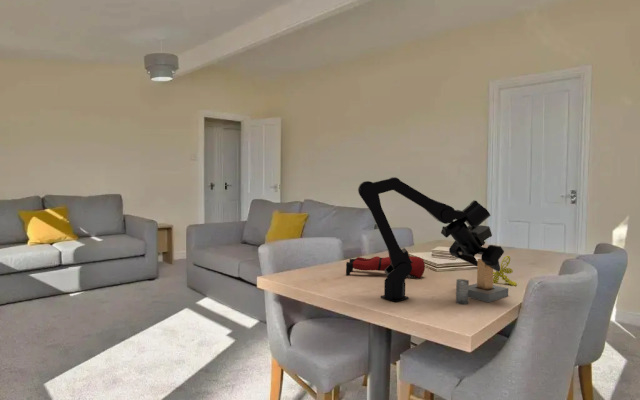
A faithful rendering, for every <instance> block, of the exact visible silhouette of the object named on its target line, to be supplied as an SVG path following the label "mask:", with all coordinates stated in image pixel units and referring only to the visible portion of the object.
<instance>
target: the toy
mask: <svg viewBox="0 0 640 400" xmlns="http://www.w3.org/2000/svg"><path fill="white" fill-rule="evenodd" d="M409 258H410V260H411V261H412V262H413V263H411V265H412V270H411V273H410V274H409V275H408V276H406V278H413V279H420V278H422V276H423V275H424V273H425V268H426V267H425V261H424V259H423V258H421V257H420V256H419V257H418V256H409ZM345 264H346V267H345V276H350V275H351V273H353V271H354V270H358V271H359V270H360V271H378V272H385V271H384V270H385V269H386V268H387V267H388V266H389V265H390V264H391V262H390V258H389V256H385V257H381V256H373V257H371V258H366V257H359V256H358V257H356V258H349V262H348V261H346V263H345Z"/></svg>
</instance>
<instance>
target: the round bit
mask: <svg viewBox="0 0 640 400" xmlns="http://www.w3.org/2000/svg"><path fill="white" fill-rule="evenodd" d="M455 283H456V284H455V285H456V287H455V303H456V304H458V305H465V306H466V305H468V304H469V297H468V289H469V285H470V284H469V283H470V282H469V280H468V279H466V278H465V279H464V278H458V279H456V282H455Z"/></svg>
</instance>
